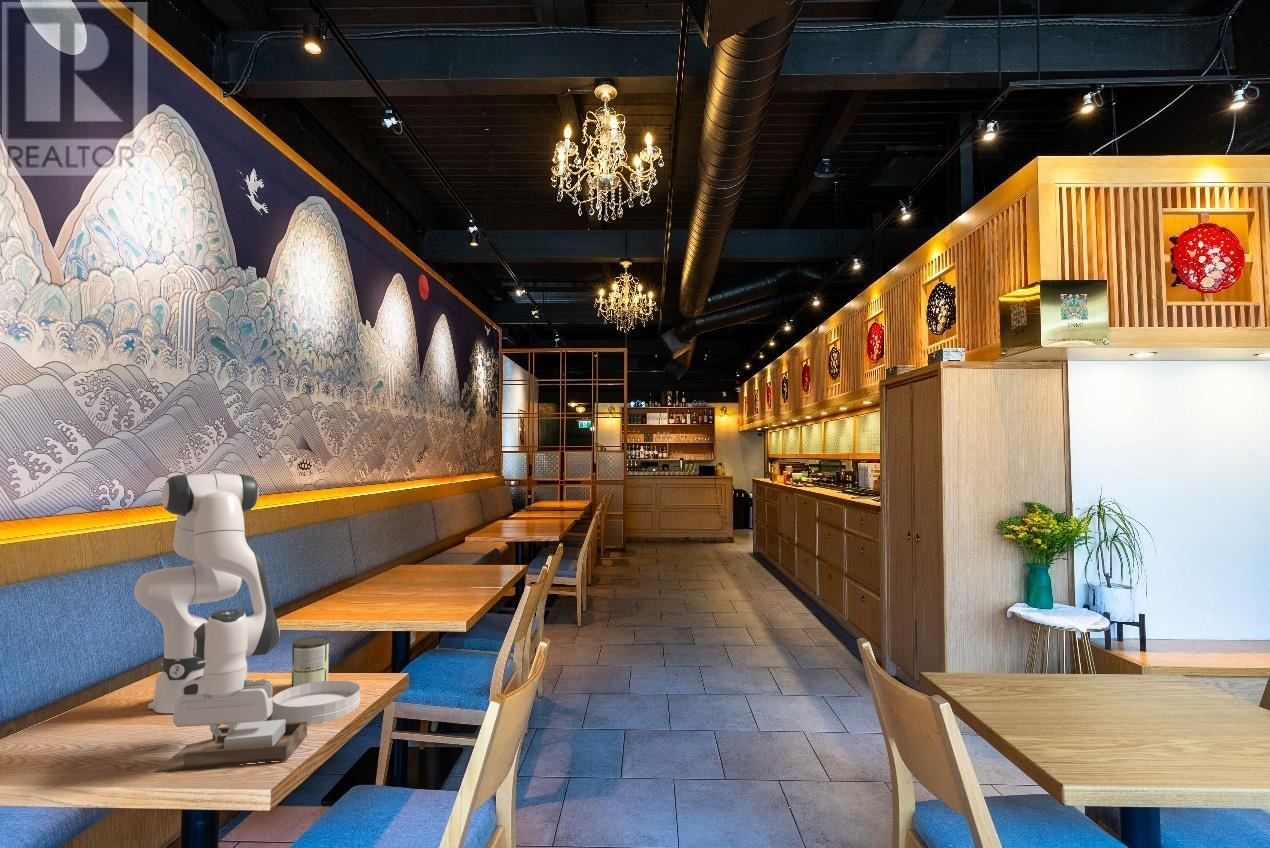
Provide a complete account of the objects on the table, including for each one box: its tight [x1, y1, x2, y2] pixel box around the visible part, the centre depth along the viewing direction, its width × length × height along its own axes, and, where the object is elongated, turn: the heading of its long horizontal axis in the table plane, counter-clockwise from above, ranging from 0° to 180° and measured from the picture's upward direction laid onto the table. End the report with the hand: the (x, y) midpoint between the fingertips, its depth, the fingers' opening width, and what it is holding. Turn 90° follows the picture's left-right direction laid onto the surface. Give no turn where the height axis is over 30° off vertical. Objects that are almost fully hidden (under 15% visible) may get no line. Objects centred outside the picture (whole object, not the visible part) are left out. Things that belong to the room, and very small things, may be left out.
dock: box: [153, 721, 308, 773], centre depth 154 cm, size 15×27×4 cm, turn 100°
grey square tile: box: [224, 719, 286, 749], centre depth 155 cm, size 10×10×4 cm
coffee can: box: [291, 635, 330, 687], centre depth 202 cm, size 10×10×14 cm
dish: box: [271, 680, 361, 724], centre depth 182 cm, size 22×22×5 cm
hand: (223, 742), depth 154 cm, fingers closed
